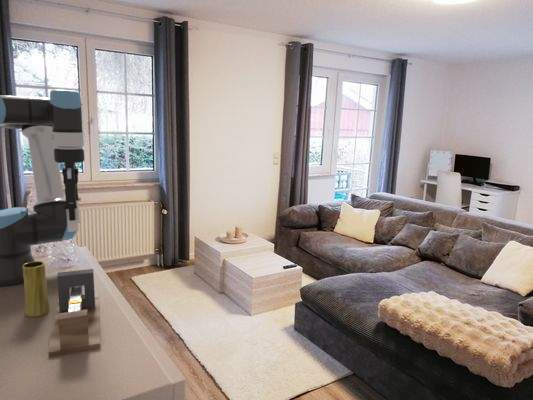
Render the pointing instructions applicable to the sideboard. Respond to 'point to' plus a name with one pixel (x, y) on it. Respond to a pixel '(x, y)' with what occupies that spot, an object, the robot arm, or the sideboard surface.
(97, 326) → the wooden stand
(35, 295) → the vase
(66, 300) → the collar
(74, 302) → the light grey bar
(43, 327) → the sideboard surface
